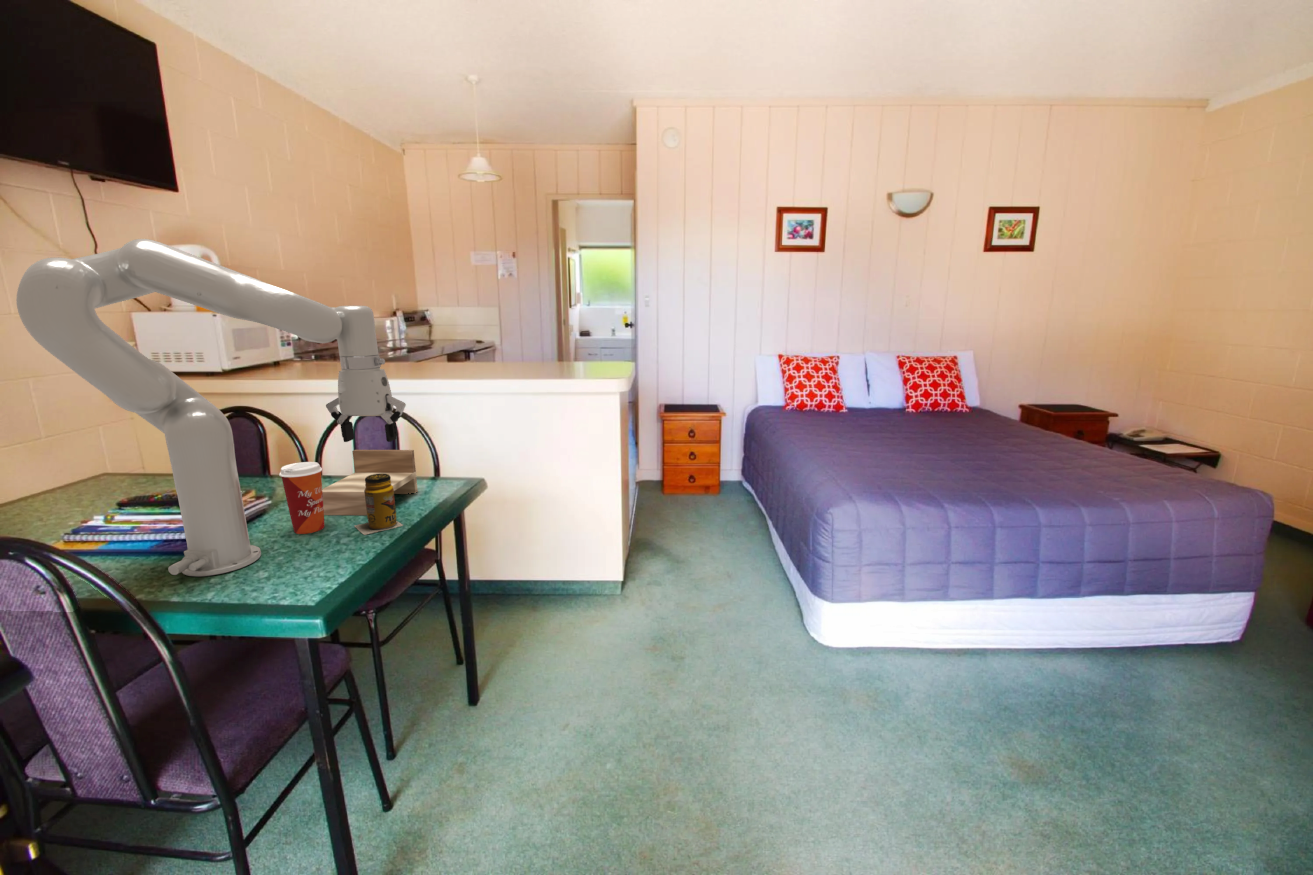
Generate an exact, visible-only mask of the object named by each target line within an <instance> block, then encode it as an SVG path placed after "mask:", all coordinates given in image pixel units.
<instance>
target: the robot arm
mask: <svg viewBox="0 0 1313 875" xmlns="http://www.w3.org/2000/svg"><path fill="white" fill-rule="evenodd" d="M16 291H17V292H16V307H17V308H16V309H17V313H18V315H19V318H20V320H21V322H22V324H23V326H24V328H25V329H26V330H27V332H28V333H29V334H30V336H31V337H32V338H33V340H34V341H36V342H37V343H38V344H39V345H40V346H41V347H42V348H43V349H44V350H46V351H47V352H48V353H49V354H50V355H52V356H54V357H55V358H56V359H57V360H58V361H59V362H61V363H62V364H64V365H65V366H66V367H67V368H69V369H70V370H72V371H73V372H74V373H75V374H77V375H78V376H79V377H80V378H82V379H84V380H85V381H86V382H88V383H89V384H90V385H91V386H93V387H94V388H95V389H97V390H99V391H100V392H101V393H102V394H103V395H105V396H106V397H107V398H109V399H110V401H112V402H113V403H114V404H116V405H117V406H118V407H120V408H121V409H123V410H125V411H128V412H132V413H135V414H136V415H138V416H139V417H140V418H142V419H144V421H146V422H147V423H149V424H150V425H152V426H153V427H154V428H156V429H157V430H159V431H161V432H162V433H163V434H164V438H165V443H166V447H167V452H168V456H169V462H170V466H171V471H172V477H173V481H174V487H175V491H176V494H177V499H178V505H179V506H178V507H179V511H180V515H181V520H182V526H183V530H184V535H185V540H186V545H187V549H186V550H184V551H183V554H184V556H183V557H182V559H181V560H180V561H177V562H175V563H173V564H171V565H170V566H168V568H167V569H168V573H170V574H171V575H173V576H177V575H179V574H180V573H182V574H183V575H184V576H185V575H186V576H189V577H210V576H215V575H216V576H217V575H221V574H225V573H230V572H232V571H236V570H239V569H242V568H245V567H247V566H248V565H251V564H253V563H255V562H256V561H258V560H259V559H260V557H261V556H262V551H261V548H260V546H257V545H253V544H251V542H250V537H249V531H248V524H247V520H246V519H247V518H246V514H245V507H244V502H243V495H242V490H241V483H240V480H239V473H238V467H237V461H236V453H235V452H236V451H235V442H234V435H233V430H232V426H231V424H230V421H229V419H228V418H227V417H226V415H225V414H224V413H223V412H222V411H221V410H220V409H219V408H218V407H217V406H216V405H215V404H213V403H212V402H211V401H209V400H208V399H207V398H205V397H204V396H203V395H202V394H201V393H199V391H197V390H195V389H194V388H193V387H192V386H190V385H189V384H188V383H187V382H185V380H183V379H182V378H180V376H178V375H176V374H175V373H174V372H173V371H172V370H170V369H169V368H168V367H167V366H165V365H164V364H162V363H160V362H158V361H156V360H154V359H151V358H148V357H147V356H146V355H144V354H143V353H142V352H140V351H139V350H137V349H136V348H135V347H134V346H132V345H131V344H130V343H128V342H127V340H125V339H124V338H123V337H122V336H120V335H119V334H118V333H117V332H115V331H114V330H113V329H111V328H110V327H109V326H108V325H107V324H106V323H104V322H103V321H102V320H101V318H100V317H99V316H98V314H97V313H96V309H98V308H102V307H106V306H109V305H113V304H117V303H121V302H126V301H128V300H132V299H136V298H140V297H143V296H147V295H151V294H153V293H157V294H161V295H163V296H166V297H170V298H172V299H175V300H179V301H181V302H184V303H186V304H189V305H193V306H196V307H199V308H203V309H205V310H209V311H210V312H211V311H212V312H214V313H217V314H220V315H223V316H227V317H230V318H232V319H237V320H244V321H249V322H253V323H257V324H261V325H263V326H268V327H271V328H274V329H277V330H280V331H283V332H286V333H288V334H289V333H290V334H292V335H293V336H297V337H298V338H300V339H301V340H303V341H307V342H309V343H310V342H312V343H318V344H328V343H331V342H333V341H335V340H336V341H337V348H338V354H339V361H340V362H339V363H340V369H341V370H339V371H338V376H337V377H338V378H337V394H338V395H337V396H338V397H337V398H335V399H333V400H332V401H330V402H328V403H326V404H325V407H326V409H327V410H328V412H329V413H330V416H331V417H332V418H333V420H335V421H336V423H337V424H338V425H340V431H341V437H342V438H343V443H348V442H350V441H353V440H354V439H355V433H354V425H353V422H352V421H350V420H351V419H352V418H353V417H376V416H377V417H381V418H382V419H383V420H384V421H385V422H386V423H385V425H384V432H385V439H386V442H388V443H391V442H393V441H396V439H397V437H398V430H397V428H398V427H397V422H398V421H399V419H400V418H401V417H402V416H403V414H404V411H405V408H406V407H407V404H406V402H404V401H402V400H400V399H398V398H395V397H393V395H392V390H391V387H390V381H389V379H388V376H387V374H386V373H387V372H386V370H385V368H381V367H382V365H385V364H386V360H385V358H381V357H380V354H379V350H378V349H379V346H378V340H377V334H376V333H377V332H376V331H377V330H376V322H375V317H374V311H373V309H372V308H371V307H370V306H367V305H339V306H336V307H334V306H329V305H327V304H324V303H321V302H318V301H317V300H313V299H311V298H308V297H306V296H303V295H300V294H298V293H295V292H292V291H289V290H287V289H284V288H281V287H278V286H275V285H273V284H270V283H268V282H264V281H262V280H260V279H257V278H256V277H252V276H249V275H247V274H244V273H242V272H240V271H237V270H234V269H231V268H229V267H226V266H223V265H220V264H218V263H215V262H212V261H210V260H207V259H205V258H202V257H199V256H197V255H195V254H192V253H189V252H187V251H184V250H182V249H179V248H176V247H174V246H172V245H168V244H166V243H163V242H160V241H157V240H153V239H149V238H138V239H132V240H130V241H128V242H126V243H125V244H124V245H122V247H120V248H116V249H112V250H108V251H104V252H99V253H93V254H90V255H85V256H81V257H76V258H66V257H47V258H43V259H40V260H37V261H36V262H34V263H33V264H31V265H30V266H29V267H28V268H27V269H26V270H25V272H24V273H23V275H22V277H21V279H20V281H19V283H18V286H17V290H16ZM338 406H339V410H340V411H339V410H338V408H337V407H338ZM394 406H395V411H394ZM393 411H394V412H393Z"/></svg>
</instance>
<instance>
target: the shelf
mask: <svg viewBox="0 0 1313 875" xmlns="http://www.w3.org/2000/svg"><path fill="white" fill-rule="evenodd" d="M352 458H353V467H354V473H351V474H349V475H347V476H345V477H344V478H342V479H339V480H337V481H336V482H334V483H332V484H329V485H327V486H326V487H323V488H322V493H323V508H324V516H367V510H366V501H365V493H364V490H365V488H366V486H365V484H366V483H365V478H366V477H367V476H369V475H373V474H388V475H390V477H391V479H390V480H391V485H392V486H393V489H394V495H412V494H411V493H416V492H418V493H419V490H418V479H417V469H416V460H415V450H414V449H353V450H352ZM408 493H409V494H408ZM416 494H417V493H416Z"/></svg>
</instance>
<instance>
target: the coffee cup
mask: <svg viewBox="0 0 1313 875" xmlns="http://www.w3.org/2000/svg"><path fill="white" fill-rule="evenodd" d="M322 471H323V467H321V465H320V464H319V462H316V461H302V462H301V461H300V462H294V463H290V464H285V465H283V466H281V468H280V472H279V474H278V475H279V477H281V480H282V484H283V485H282V486H283V489H284V494H285V499H286V503H287V507H288V512H289V516H290V520H291V525H292V529H293V532H294V533H295V534H297V535H307V534H312V533H315V532H320V531H322V530H323V529H324V528H325V515H324V508H323V493H322V489H323V483H322V482H323V481H322Z"/></svg>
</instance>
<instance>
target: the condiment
mask: <svg viewBox="0 0 1313 875" xmlns="http://www.w3.org/2000/svg"><path fill="white" fill-rule="evenodd" d="M390 479H391V477H390V475H388V474H373V475H369V476H367V477H366V478H365V483H366V484H365V486H366V488H365V490H364V493H365V501H366V510H367V515H366V518H367V522H365V523H361V524H357V525H356V524H355V525H354V528H355V529H357V530H358V531H359V532H360V533H361V534H363V535H364V536H366V535H369V534H374V533H378V532H383V531H388V530H392V529H396V528H399V527H402V526H404V524H402V523H401V522H399V521H398V520H397V519H398V518H397V510H396V508H397V507H396V501H395V500H396V499H395V494H394V489H393V486H392V485H391V480H390Z"/></svg>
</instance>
